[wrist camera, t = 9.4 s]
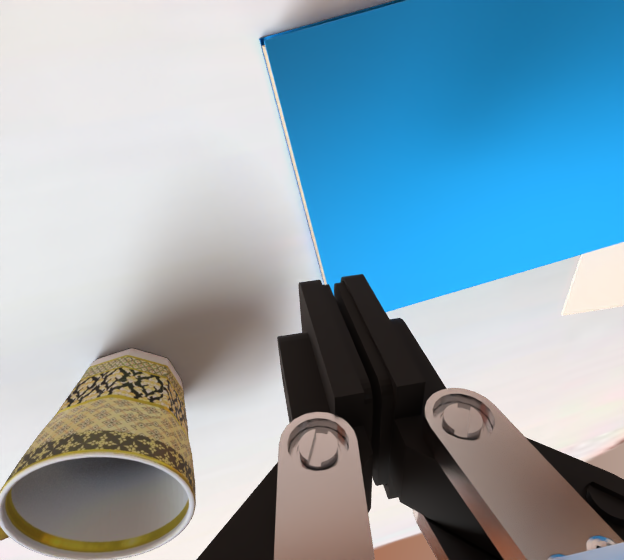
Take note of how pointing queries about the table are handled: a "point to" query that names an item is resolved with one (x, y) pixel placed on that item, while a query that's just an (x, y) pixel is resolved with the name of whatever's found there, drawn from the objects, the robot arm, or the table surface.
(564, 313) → the mat
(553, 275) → the table surface
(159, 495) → the ceramic cup
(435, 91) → the book
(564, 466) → the robot arm
